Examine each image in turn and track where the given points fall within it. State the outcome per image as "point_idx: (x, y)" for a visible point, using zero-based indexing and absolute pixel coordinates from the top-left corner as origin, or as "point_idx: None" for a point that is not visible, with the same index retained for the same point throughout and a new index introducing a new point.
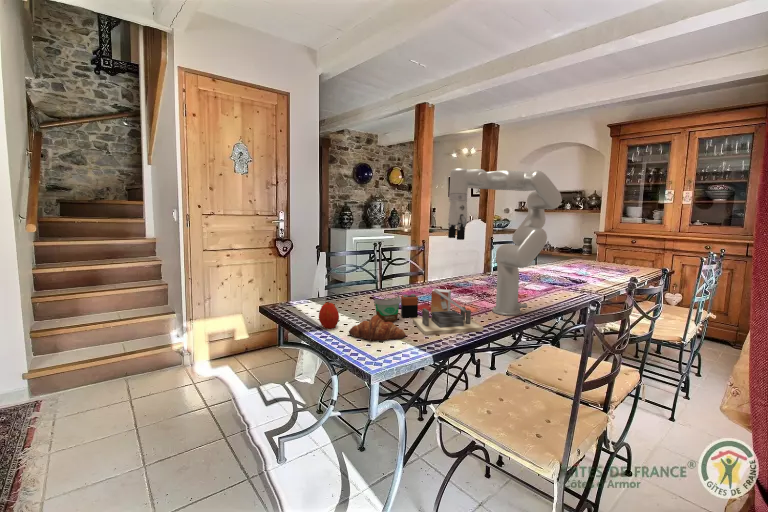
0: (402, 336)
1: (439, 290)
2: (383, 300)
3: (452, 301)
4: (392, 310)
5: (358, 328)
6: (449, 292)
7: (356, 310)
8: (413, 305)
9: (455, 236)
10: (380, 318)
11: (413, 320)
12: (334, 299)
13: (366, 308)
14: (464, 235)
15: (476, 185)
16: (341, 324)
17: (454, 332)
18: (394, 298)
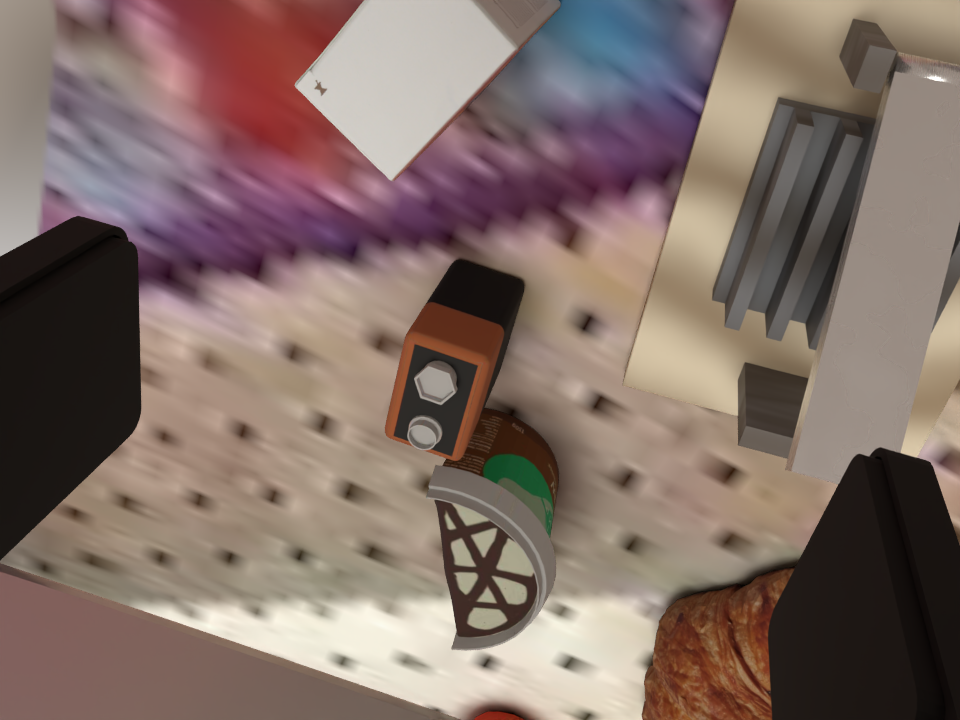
0: None
1: (407, 97)
2: (520, 631)
3: (938, 297)
4: (549, 529)
5: None
6: (484, 3)
7: (244, 518)
8: (497, 357)
9: (97, 240)
10: (712, 680)
11: (635, 384)
12: None
13: (213, 455)
14: (958, 554)
15: None
16: (480, 676)
17: None
18: (459, 525)
